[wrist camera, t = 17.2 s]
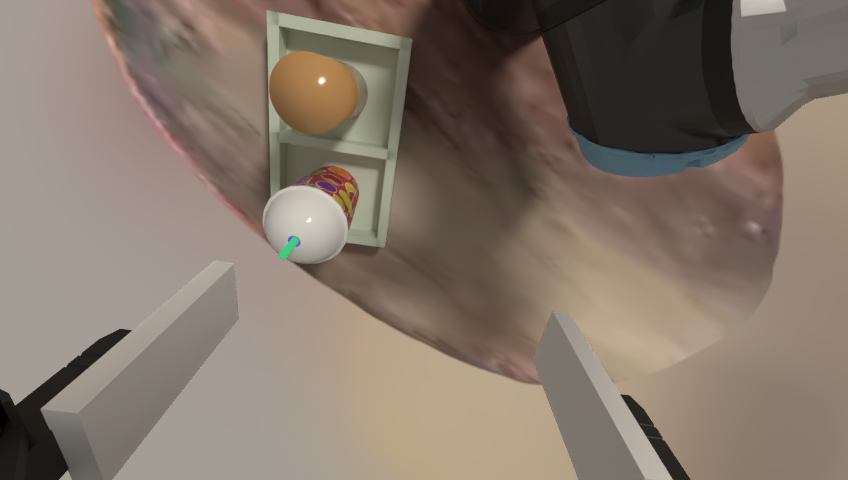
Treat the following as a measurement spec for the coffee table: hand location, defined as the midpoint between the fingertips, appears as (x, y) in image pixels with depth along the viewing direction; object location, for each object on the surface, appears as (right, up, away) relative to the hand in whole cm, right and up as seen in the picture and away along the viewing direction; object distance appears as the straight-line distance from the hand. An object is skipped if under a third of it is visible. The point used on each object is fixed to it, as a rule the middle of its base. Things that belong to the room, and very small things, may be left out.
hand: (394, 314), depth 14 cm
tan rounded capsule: (-9, +21, +27) cm, 35 cm away
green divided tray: (-10, +16, +30) cm, 36 cm away
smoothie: (-11, +10, +32) cm, 35 cm away
